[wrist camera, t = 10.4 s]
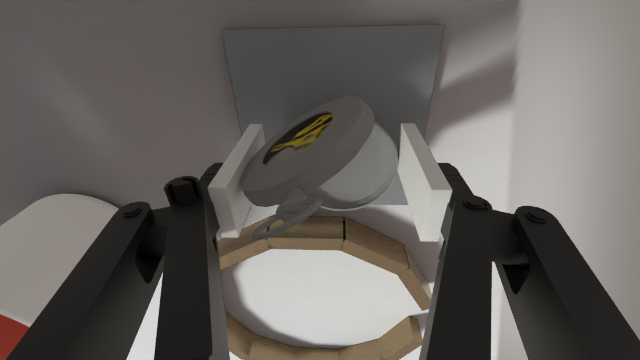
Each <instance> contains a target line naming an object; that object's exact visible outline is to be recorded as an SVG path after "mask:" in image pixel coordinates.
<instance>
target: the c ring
mask: <svg viewBox="0 0 640 360" xmlns="http://www.w3.org/2000/svg"><path fill="white" fill-rule="evenodd" d="M270 218H271V216H270V217H268V218H266V219H264V220H262V221H260V222H258V223H255V224H253V225H251V226H249V227H247V228H245V229H242V230H241V233H240V235H239V238H229V237H225V238H223V239H221V240H219V242H218V250H219V260H220V270H222V269H224V268H227V267H229V266H231V265H234V264H236V263H239V262H241V261H243V260H246V259H248V258H251V257H253V256H255V255H258V254H260V253H263V252H265V251H267V250H270V249H302V250H341V251H343V252H345V253H348V254H350V255H352V256H355V257H357V258H359V259H362V260H364V261H366V262H369V263H371V264H373V265H376V266H378V267H380V268H383V269H385V270H387V271H390V272H392V273H394V274H397V275H398V277H399V278H400V279H401V281H402V282H403V284H404V285H405V287H406V288H407V289H408V291H409V292H410V294H411V295H412V297H413V298H414V300H415V301H416V302H417V304H418V305H419V307H420V308H421V310H422V311H423V310H427V309H429V308H430V303H431V298H432V294H431V291H430V288H429V285H428V282H427V281H426V279H425V277H424V276H423V274H422V273H421V271H420V269H419V268H418V266H417V265H416V263H415V261H414V260H413V258H412V257H411V255H410V253H409V252H408V250H407V249H406V247H405V246H404V245H403V244H402V243H400V242H397V241H395V240H393V239H391V238H389V237H387V236H384V235H382V234H380V233H378V232H376V231H373V230H371V229H369V228H367V227H365V226H363V225H360V224H358V223H356V222H354V221H352V220H349V219H347V218H344V220H343V217H308V218H306V219H305V220H303V221H302V222H300V223H299V224H297V225H295V226H294V227H292V228H290V229H288V230H286V231H284V232H282V233H280V234H277V235H275V236H273V237H270V238H267V239H262V240H254V239H252V237H251V236H252V233H253V231H254V230H255V229H256V228H257V227H258V226H259V225H261V224H262V223H264V222H265V221H267V220H268V219H270ZM282 224H284V222H283V220H280V219H279V220H277V221H276V222H274V223H273V224H272V225H270V226H269V227H267V228H266V229H264V230H263V231H262V232H266V231H269V230H271V229H274V228H277V227H279V226H280V225H282ZM262 232H261V233H262ZM225 318H226V328H227V338H228V347H229V351H230V352H232V353H233V354H234V355H236V356H237V357H239V358H240V359H242V360H243V359H244V360H399V359H401V358H402V357H404V356H405V355H407V354H408V353H410V352H411V351H413V350H414V349H416V348H417V347H419V346H421V345H422V343H423V340H422V336H421V331H420V327H419V323H418V320H417V319H415V318H412V317H409V316H408V317H407V318H406V319H404V320H403V321H402V322H400V323H399V324H398V325H396V326H395V327H394V328H392V329H391V330H390V331H389V332H387V333H386V334H385V335H383V336H382V337H381V338H379V339H377V340H373V341H369V342H365V343H361V344H357V345H353V346H349V347H345V348H341V349H319V348H295V347H292V346H289V345H285V344H282V343H279V342H276V341H273V340H270V339H267V338H264V337H261V336H258V335H255V334H253V333H252V332H251V331H249V330H248V329H247V328H246V327H244V326H243V325H242V324H240V323H239V322H238V321H237V320H235V319H234V318H233V317H231V316H230V315H229V314H228V313H226V312H225Z"/></svg>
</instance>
